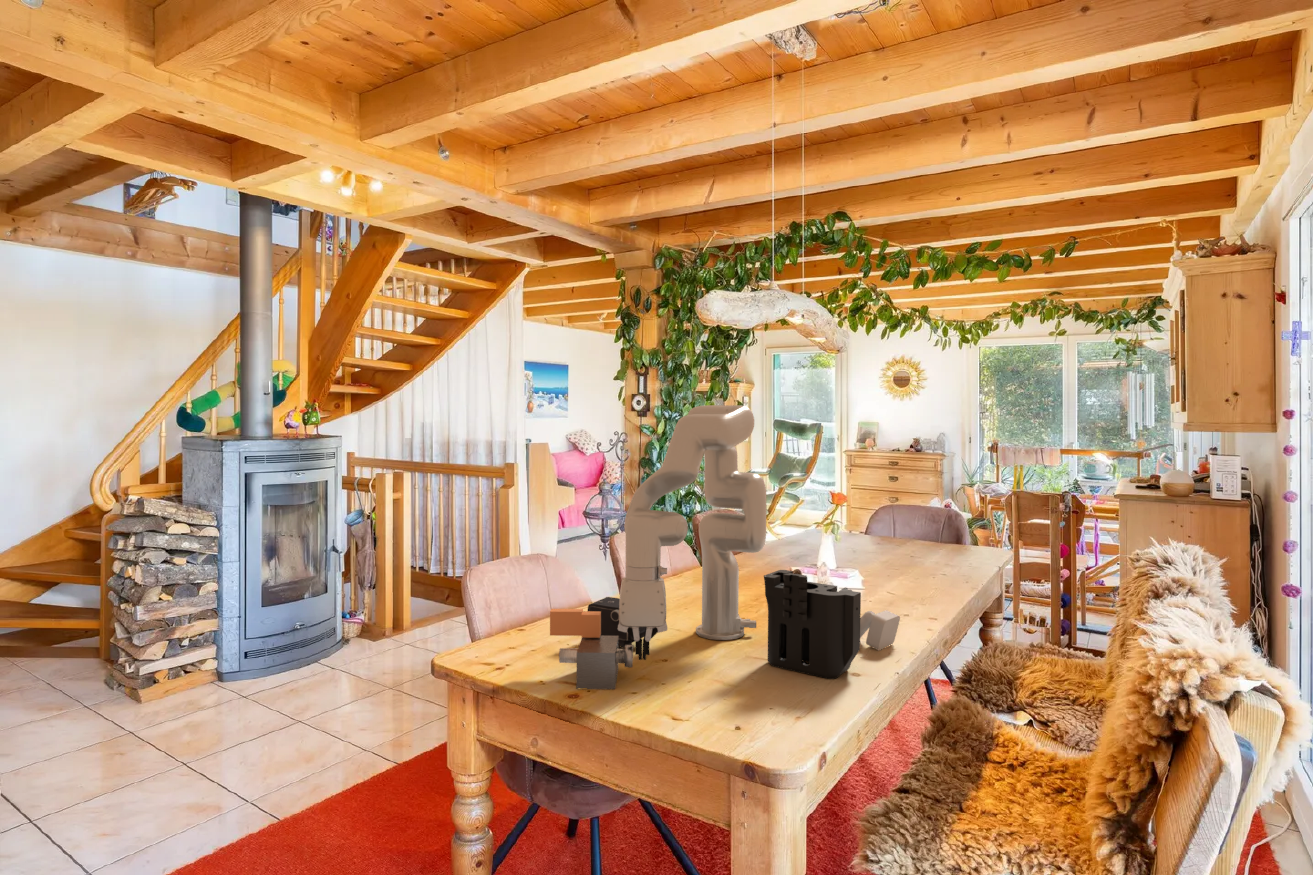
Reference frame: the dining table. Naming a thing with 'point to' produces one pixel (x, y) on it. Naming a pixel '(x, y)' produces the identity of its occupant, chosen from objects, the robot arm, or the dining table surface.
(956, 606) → the dining table surface
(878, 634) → the wall hook
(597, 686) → the block
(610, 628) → the camera
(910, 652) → the dining table surface
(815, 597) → the black machined bracket
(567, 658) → the pin
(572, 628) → the plate
